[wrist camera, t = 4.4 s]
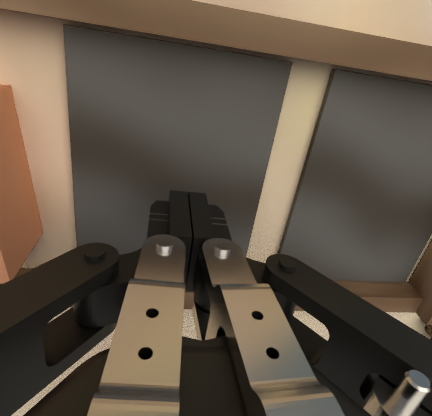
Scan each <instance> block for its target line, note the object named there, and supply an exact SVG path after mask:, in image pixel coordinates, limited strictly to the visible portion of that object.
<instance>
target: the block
mask: <svg viewBox="0 0 432 416" xmlns="http://www.w3.org/2000/svg"><path fill="white" fill-rule="evenodd" d="M42 233H43V230H42V225H41V220H40V216H39V211H38V207H37V202H36V198H35V193H34V189H33V184H32V179H31V175H30V170H29V166H28V161H27V157H26V152H25V148H24V143H23V139H22V134H21V129H20V125H19V120H18V116H17V111H16V107H15V102H14V98H13V93H12V88H11V85H0V284H3V283H6V282H8V281H10V280H12V279H14V277H15V275H16V274H17V272H18V271H19V269H20V268H21V266H22V264H23V263H24V261H25V260H26V258H27V257H28V255H29V254H30V252H31V250H32V249H33V247H34V246H35V244H36V243H37V241H38V239H39V238H40V236H41V235H42Z"/></svg>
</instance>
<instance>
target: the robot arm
mask: <svg viewBox="0 0 432 416" xmlns="http://www.w3.org/2000/svg"><path fill="white" fill-rule="evenodd" d="M225 219H226V218H225V215H224V212H223V211H222V210H221V209H220V208H219V207H218V206H217V205H208V201H207V196H206V193H199V192H187V191H176V190H170V194H169V201H160V200H156V201H155V202H154V203H153V204H152V205H151V206H150V215H149V223H148V232H147V239H146V240H145V241H144V243H143V246H142V248H140V249H139V250H137V251H134V252H131V253H127V254H120V255H119V253H118V251H117V249H116V248H114V247H113V246H111V245H109V244H105V243H88V244H84V245H81V246H79V247H77V248H75V249H73V250H71V251H69V252H67V253H65V254H63V255H61V256H59V257H56V258H54V259H52V260H50V261H48V262H46V263H44V264H42V265H40V266H38V267H36V268H34V269H32V270H30V271H28V272H26V273H24V274H22V275H20V276H18V277H16V278H14V279H12V280H10V281H8V282H6V283H4V284H2V285H0V416H11V415H12V414H13V413H15V412H16V411H17V410H18V409H19V408H21V407H22V406H23V405H24V404H25V403H27V402H28V401H29V400H30V399H32V398H33V397H34V396H35V395H36V394H38V393H39V392H40V391H41V390H42V389H44V388H45V387H46V386H47V385H49V384H50V383H51V382H52V381H53V380H55V379H56V378H57V377H58V376H59V375H61V374H62V373H63V372H64V371H66V370H67V369H68V368H69V367H70V366H72V365H73V364H74V363H75V362H76V361H78V360H79V359H80V358H81V357H83V356H84V355H85V354H86V353H87V352H89V351H90V350H91V349H92V348H93V347H95V346H96V345H97V344H98V343H99V342H101V341H102V340H103V339H104V338H106V337H107V336H108V335H109V334H110V333H111V332H113V330H114V329H115V328H116V329H115V332H114V336H113V339H112V343H111V346H110V348H108V349H106V350H104V351H102V352H99V353H98V354H96V355H94V356H92V357H91V358H89V359H88V360H86V361H85V362H83V363H82V364H81V365H80V366H78V367H77V368H76V369H75V370H74V371H73V372H72V373H71V374H69V375H68V376H67V377H66V378H65V379H64V380H63V381H62V382H60V383H59V384H58V385H57V386H56V387H55V388H54V389H53V390H51V391H50V392H49V393H48V394H47V395H46V396H45V397H44V398H43V399H41V400H40V401H39V402H38V403H37V404H36V405H35V406H34V407H32V408H31V409H30V410H29V411H28V412H27V413H26V414H25V415H23V416H432V341H431V340H430V339H428V338H426V337H425V336H423V335H421V334H420V333H418V332H416V331H415V330H413V329H412V328H410V327H408V326H407V325H405V324H403V323H402V322H400V321H398V320H397V319H395V318H393V317H392V316H390V315H389V314H387V313H385V312H384V311H382V310H380V309H379V308H377V307H375V306H374V305H372V304H370V303H369V302H367V301H365V300H364V299H362V298H361V297H359V296H357V295H356V294H354V293H352V292H351V291H349V290H347V289H346V288H344V287H342V286H341V285H339V284H338V283H336V282H334V281H333V280H331V279H329V278H328V277H326V276H324V275H323V274H321V273H319V272H318V271H316V270H314V269H313V268H311V267H310V266H308V265H306V264H305V263H303V262H301V261H300V260H298V259H296V258H294V257H292V256H289V255H285V254H274V255H271V256H269V257H268V258H267V260H266V263H262V262H258V261H255V260H251V259H249V258H246V257H245V255H244V253H243V251H242V249H241V247H240V246H239V245H238V244H236V243H235V242H233V241H232V238H231V235H230V232H229V228H228V225H227V222H226V220H225ZM185 283H186V291H189V292H194V299H193V305H192V312H193V317H194V323H195V329H196V334H197V340H196V339H191V338H187V337H183V336H182V329H183V310H184V292H185ZM72 305H73V307H72V308H71V309H69V310H68V311H66V312H65V313H63V314H62V315H60V316H59V317H57V318H55V319H54V320H52V321H51V322H49V321H50V320H51V319H52V318H54V317H55V316H57V315H58V314H60V313H61V312H63V311H64V310H66V309H67V308H69V307H71V306H72ZM296 305H297V306H299V307H300V308H302V309H303V310H305V311H306V312H307V313H309V314H310V315H312V316H313V317H314V318H316V319H317V320H319V321H320V322H322V323H323V324H324V325H325V326H326V328H327V329H328V331H329V340H328V341H327V340H325V339H324V338H322V337H321V336H320V335H318V334H317V333H316V332H314V331H313V330H311V329H310V328H309V327H307V326H306V325H305V324H303V323H302V322H301V321H299V320H298V319H296V318H295V317H294V316H293V313H294V310H295V307H296ZM48 322H49V323H48Z"/></svg>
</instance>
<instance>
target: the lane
mask: <svg viewBox="0 0 432 416" xmlns="http://www.w3.org/2000/svg"><path fill="white" fill-rule="evenodd" d="M0 8H2V9H8V10H14V11H20V12H26V13H32V14H38V15H44V16H50V17H56V18H62V19H68V20H74V21H79V22H85V23H91V24H97V25H103V26H109V27H115V28H121V29H127V30H133V31H139V32H145V33H151V34H157V35H162V36H168V37H174V38H180V39H186V40H192V41H198V42H204V43H210V44H216V45H222V46H228V47H234V48H240V49H245V50H251V51H257V52H263V53H269V54H275V55H281V56H287V57H293V58H299V59H305V60H311V61H317V62H323V63H328V64H334V65H340V66H346V67H352V68H358V69H364V70H370V71H376V72H382V73H388V74H394V75H400V76H406V77H412V78H417V79H423V80H429V81H432V46H427V45H421V44H416V43H411V42H406V41H400V40H395V39H390V38H385V37H380V36H374V35H369V34H364V33H359V32H353V31H348V30H343V29H338V28H333V27H327V26H322V25H317V24H312V23H306V22H301V21H296V20H291V19H286V18H280V17H275V16H270V15H265V14H259V13H254V12H249V11H244V10H239V9H233V8H228V7H223V6H218V5H212V4H207V3H202V2H197V1H192V0H0ZM63 27H64V43H65V60H66V76H67V92H68V109H69V125H70V142H71V158H72V175H73V191H74V208H75V224H76V241H77V247H79V246H81V245H84V244H88V243H105V244H109V245H111V246H113V247H114V248H116V249H117V251H118V253H119V255H120V254H127V253H131V252H134V251H137V250H139V249H140V248H142V246H143V243H144V241H145V240H146V239H147V232H148V223H149V215H150V206H151V205H152V204H153V203H154V202H155V201H156V200H160V201H169V194H170V190H176V191H187V192H199V193H206V196H207V201H208V205H217V206H218V207H219V208H220V209H221V210H222V211H223V212H224V215H225V218H226V219H225V220H226V222H227V225H228V228H229V232H230V235H231V238H232V241H233V242H235V243H236V244H238V245H239V246H240V247H241V249H242V251H243V253H244V255H245V257H246V254H247V249H248V245H249V241H250V237H251V233H252V229H253V224H254V220H255V216H256V212H257V208H258V204H259V199H260V195H261V191H262V187H263V183H264V179H265V174H266V170H267V166H268V162H269V158H270V153H271V149H272V145H273V141H274V137H275V133H276V128H277V124H278V120H279V116H280V112H281V108H282V103H283V99H284V95H285V91H286V87H287V83H288V78H289V74H290V70H291V66H292V62H288V61H282V60H276V59H270V58H264V57H258V56H252V55H246V54H240V53H234V52H228V51H222V50H216V49H210V48H204V47H198V46H192V45H186V44H179V43H173V42H167V41H161V40H155V39H149V38H143V37H137V36H131V35H125V34H119V33H113V32H107V31H101V30H95V29H89V28H83V27H77V26H71V25H64V24H63ZM431 234H432V85H427V84H421V83H415V82H409V81H403V80H397V79H391V78H385V77H379V76H373V75H367V74H361V73H354V72H348V71H342V70H336V69H333V70H332V73H331V77H330V80H329V83H328V87H327V90H326V93H325V97H324V100H323V104H322V107H321V110H320V114H319V117H318V120H317V124H316V127H315V131H314V134H313V137H312V141H311V144H310V148H309V151H308V154H307V158H306V161H305V164H304V168H303V171H302V175H301V178H300V181H299V185H298V188H297V191H296V195H295V198H294V202H293V205H292V208H291V212H290V215H289V218H288V222H287V225H286V229H285V232H284V235H283V239H282V242H281V246H280V249H279V252H278V254H285V255H289V256H292V257H294V258H296V259H298V260H300V261H301V262H303V263H305V264H306V265H308V266H310V267H311V268H313V269H314V270H316V271H318V272H319V273H321V274H323V275H324V276H326V277H328V278H329V279H331V280H333V281H334V282H336V283H338V284H339V285H341V286H342V287H344V288H346V289H347V290H349V291H351V292H352V293H354V294H356V295H357V296H359V297H361V298H362V299H364V300H365V301H367V302H369V303H370V304H372V305H374V306H375V307H377V308H379V309H380V310H382V311H384V312H416V313H417V314H418V316H419V317H420V318H421V319H422V320H423V321H424V322H425V324H426V325H432V241H431V243H430V244H429V246H428V248H427V250H426V252H425V253H424V255H423V257H422V259H421V261H420V262H419V264H418V266H417V268H416V270H415V271H414V273H413V275H412V277H411V279H410V280H409V282H405V281H406V279H407V278H408V276H409V274H410V272H411V270H412V269H413V267H414V265H415V263H416V261H417V259H418V258H419V256H420V254H421V252H422V250H423V248H424V247H425V245H426V243H427V241H428V239H429V238H430V236H431ZM30 270H32V269H19V271H18V272H17V274H16V275H15V277H14V278H16V277H18V276H20V275H22V274H24V273H26V272H28V271H30ZM3 284H4V283H3ZM0 285H2V284H0ZM193 299H194V292H189V291H186V283H185V292H184V309H192V305H193ZM71 307H73V305H72V306H71ZM294 311H305V310H303V309H302V308H300V307H299V306H297V305H296V307H295V310H294Z"/></svg>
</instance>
